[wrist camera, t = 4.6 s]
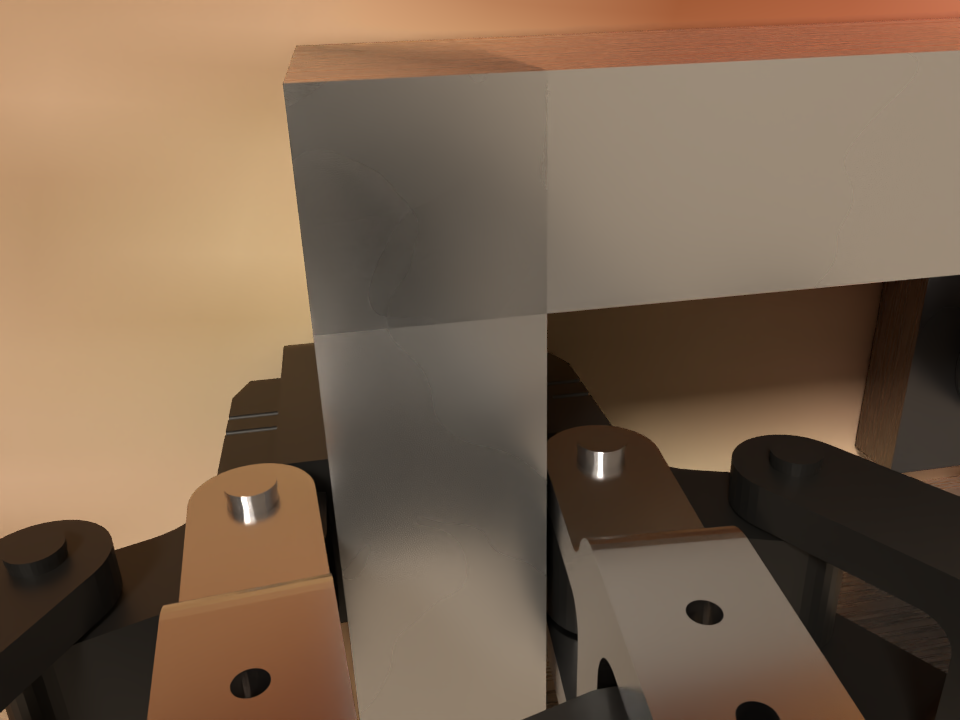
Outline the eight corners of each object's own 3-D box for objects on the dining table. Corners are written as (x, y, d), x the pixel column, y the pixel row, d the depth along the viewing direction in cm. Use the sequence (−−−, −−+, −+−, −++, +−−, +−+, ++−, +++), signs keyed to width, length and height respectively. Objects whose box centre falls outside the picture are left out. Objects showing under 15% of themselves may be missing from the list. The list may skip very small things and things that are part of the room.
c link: (364, 650, 15) (386, 941, 10) (295, 46, 11) (282, 83, 6) (1060, 544, 17) (1333, 745, 12) (1226, 6, 13) (1725, 12, 8)
